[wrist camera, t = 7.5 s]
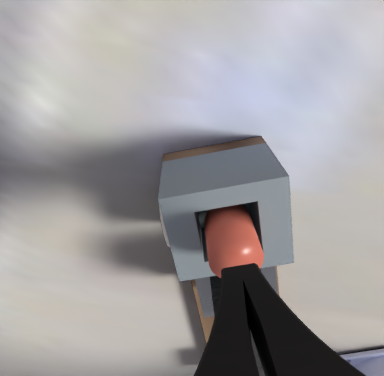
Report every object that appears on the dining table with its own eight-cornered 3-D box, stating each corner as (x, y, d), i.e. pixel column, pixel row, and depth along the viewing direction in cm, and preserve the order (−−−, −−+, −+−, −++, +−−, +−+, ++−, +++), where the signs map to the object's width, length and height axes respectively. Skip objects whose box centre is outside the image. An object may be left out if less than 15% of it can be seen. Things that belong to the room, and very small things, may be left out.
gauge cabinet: (265, 142, 19) (288, 176, 15) (272, 216, 21) (293, 262, 17) (157, 162, 19) (151, 200, 15) (174, 233, 22) (173, 282, 17)
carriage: (267, 243, 21) (296, 316, 16) (271, 285, 23) (299, 364, 17) (192, 255, 21) (196, 331, 16) (202, 296, 23) (208, 378, 18)
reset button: (248, 197, 16) (261, 232, 14) (252, 236, 18) (266, 276, 15) (200, 206, 17) (204, 241, 14) (207, 244, 18) (213, 284, 15)
